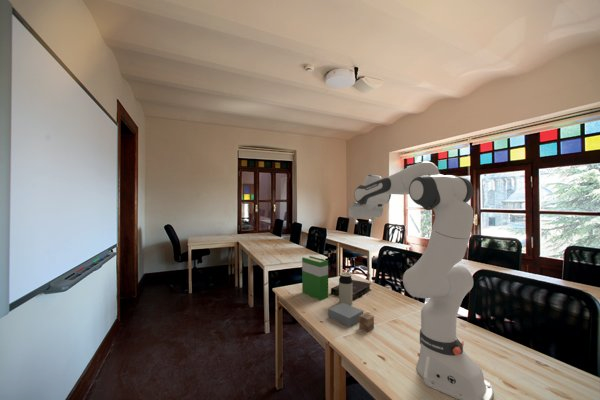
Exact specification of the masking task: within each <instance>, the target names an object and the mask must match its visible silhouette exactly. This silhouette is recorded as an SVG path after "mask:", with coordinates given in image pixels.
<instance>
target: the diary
mask: <svg viewBox="0 0 600 400" xmlns="http://www.w3.org/2000/svg"><path fill="white" fill-rule="evenodd" d="M371 285H372V283H371V282H366V281H361V280H357V279H356V280H355V279H352V301H357V300H358V299H359V298H361V297H362V296H364V295H366V294H367V293H370V292H371V291H372V289H371ZM330 294H331V295H333V294H335V295H336V296H338V297H339V284H338V285H335V286H334V287H331V288H330Z"/></svg>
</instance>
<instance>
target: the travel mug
mask: <svg viewBox="0 0 600 400" xmlns="http://www.w3.org/2000/svg"><path fill="white" fill-rule="evenodd" d="M352 275H353V274H352V273H350V272H348V271H347V272H346V271H345V272H344V271H343V272H340V273H339V279H338V285H339V296H338V300H339V301H338V304H340V303H345V304H347V305H350V306H352V305H353V300H352V280H353V278H352Z"/></svg>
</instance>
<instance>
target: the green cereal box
mask: <svg viewBox="0 0 600 400" xmlns="http://www.w3.org/2000/svg"><path fill="white" fill-rule="evenodd" d="M301 270H302V271H301V276H302V278H301V279H302V280H301V286H302V288H301V291H302V292H303V293H302V294H305V295H307V296H309V297H311V298H313V297H314V298H313V299H315V298H316V300H318V301H323V300H325V299H328V298H329V260H328V259H327V260H326V259H324V258H319V257H316V256H311V255H309V256H308V257H301Z"/></svg>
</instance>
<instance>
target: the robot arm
mask: <svg viewBox="0 0 600 400" xmlns="http://www.w3.org/2000/svg"><path fill="white" fill-rule="evenodd" d="M439 170H440V169H439V168H438V166H437V165H436V164H435V163H434V162H431V161H421V162H417V163H414V164H412V165H409V166H408V167H406V168H404V169H402V170H400V171H398V172H396V173H393V174H391V175H389V176H386V177H384V178H383V177H382V176H380V175H379V174H367V175H366V177H365V179H364V182H363V184H360V185H358V186H357V187H356V189H355V190H354V193H353V197H354V200H355V201H353V202H352V203H350V207H349V208H348V209H349V210H348V214H347V215H348V216H349V217H350V218H351V219H353V220H354V221H353V224H355V225H358V224H359V221H358V220H357V219H358V218H359V219H360V218H370V219H368V224H373V221H374V220H375V219H376V218H380V217H382V216H383V212H384V205H385V204H387V203H388V202H389V201H390V199H391V197H392V195H409V198H411V201H412V202H414V203H415V204H416V205H418V206H421V207H422V208H423V209H424V210H426V211H432V210H433V212H434V214H435V215H434V221H433V224H432V228H431V231H430V232H431V233H430V235H429V236H430V237H429V239H428V243H427V246H426V247H425V250H424V252H423V253H422V255H421V257H420V258H419V259H418V260H417V261H416V263H414V264H413V265H412V266H411V267H409V268H408V269H406V271H405V272H403V275H402V276H403V277H402V282H403V283H402V284H403V286H404V289H405V291H406V292H407V293H408V294H409V295H410V296H411V297H414V298H418V299H419V298H420V299H429V300H428V301H426V303H425V304H423V306H422V308H421V309H420V330H419V345H420V348H419V355H418V356H419V357H418V360H417V363H416V371H417V372H418V374H419V375H420V376H421V377H422V379H423V382H424V384H425V385H426V386H427V387H429V388H431V389H434V390H436V391H439V392H441V393H443V394H446V395H448V396H450V397H453V398H455V399H458V400H493V398H494V388H493V386H492V384H491V383H490V382H489V380H486V379H485V378H484V373H483V371H482V367H481V366H480V365H478V364H477V362H476V361H474V360H473V359H472V358H471V357H470V356H469V355H468V354H467V353H466V352H465V351H464V342H465V341H464V340H462V341H460V339H458V337H457V318H458V313H459V310H460V307H461V305H462V302H463V299H464V298H465V296H467V294H468V293H469V292H470V291H471V290H472V288H473V287H474V277H473V275H472V273H471V272H470V270H469V269H468V268H467V267H465V266H463V265H459V264H458V263H460V262H461V261H463V259H464V257H465V255H466V252H467V248H468V245H469V242H470V237H471V233H472V230H473V225H474V208H473V206H471V204H470V203H468V202H469V201H470V200H471V199H472V197H473V195H474V187H473V184H472V182H471V181H470V180H468V179H467V178H465V177H462V176H459V175H454V174H449V173H448V174H446V175H444V174H441V173H440V171H439Z"/></svg>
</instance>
